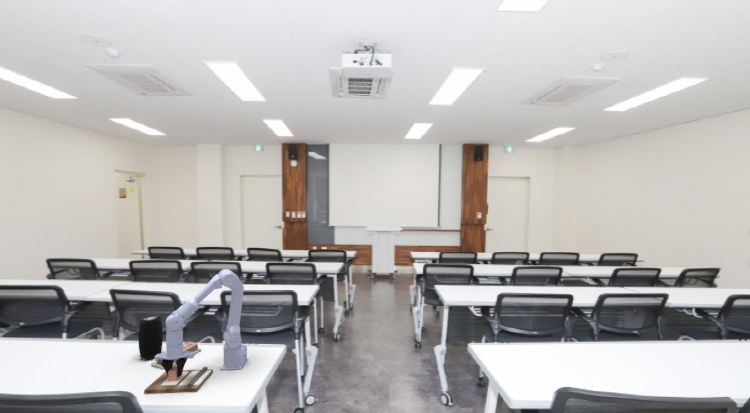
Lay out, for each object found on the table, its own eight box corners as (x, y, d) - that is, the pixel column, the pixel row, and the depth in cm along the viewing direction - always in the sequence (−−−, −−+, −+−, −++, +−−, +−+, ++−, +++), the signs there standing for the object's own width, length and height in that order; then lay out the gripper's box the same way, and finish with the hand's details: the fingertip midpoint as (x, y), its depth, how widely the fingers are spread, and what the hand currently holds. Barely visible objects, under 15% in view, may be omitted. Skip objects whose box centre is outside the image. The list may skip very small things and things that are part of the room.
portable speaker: (166, 353, 144) (166, 314, 144) (147, 363, 135) (146, 321, 135) (154, 350, 147) (153, 312, 146) (134, 360, 138) (133, 319, 137)
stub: (189, 372, 125) (188, 362, 125) (175, 385, 116) (175, 374, 116) (174, 372, 125) (174, 362, 125) (160, 386, 116) (160, 375, 116)
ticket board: (213, 372, 128) (213, 365, 128) (196, 391, 115) (196, 384, 115) (166, 374, 127) (166, 367, 127) (144, 393, 114) (144, 386, 114)
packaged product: (186, 339, 150) (201, 342, 146) (187, 348, 150) (201, 351, 146) (150, 357, 132) (165, 360, 129) (150, 367, 133) (166, 371, 129)
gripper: (197, 338, 125) (198, 369, 125) (161, 340, 123) (162, 371, 124) (189, 346, 118) (189, 378, 118) (151, 348, 116) (151, 381, 117)
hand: (175, 375), depth 120 cm, fingers closed on stub, 3 cm apart
